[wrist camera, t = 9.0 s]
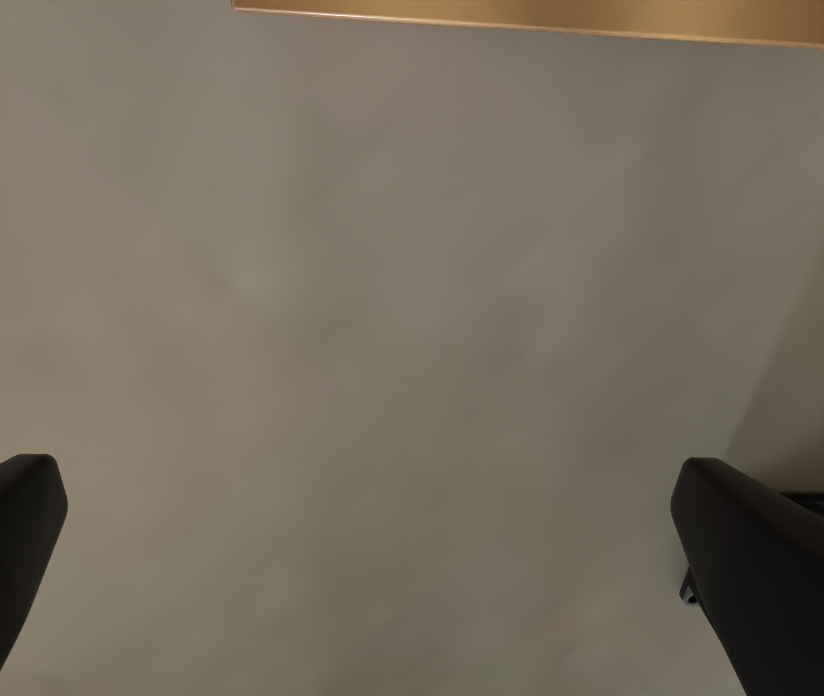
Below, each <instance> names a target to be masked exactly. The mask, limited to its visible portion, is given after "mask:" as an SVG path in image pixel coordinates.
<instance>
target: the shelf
mask: <svg viewBox="0 0 824 696" xmlns="http://www.w3.org/2000/svg"><path fill="white" fill-rule="evenodd" d="M231 6H232V8H233V9H234V10H236V11H239V12H244V13H259V14H275V15H291V16H307V17H322V18H338V19H354V20H370V21H386V22H402V23H418V24H433V25H449V26H465V27H481V28H497V29H513V30H529V31H544V32H560V33H576V34H592V35H608V36H624V37H640V38H655V39H671V40H687V41H703V42H719V43H735V44H751V45H766V46H782V47H798V48H814V49H824V0H231Z"/></svg>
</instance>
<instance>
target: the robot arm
mask: <svg viewBox="0 0 824 696" xmlns="http://www.w3.org/2000/svg"><path fill="white" fill-rule="evenodd" d="M67 509H68V501H67V496H66V493H65V489H64V486H63V482H62V479H61V475H60V472H59V468H58V465H57V462H56V460H55V459H54V458H53V457H52V456H51V455H48V454H19V455H16V456H14V457H12V458H10V459H8V460H6V461H4V462H3V463H1V464H0V671H1V669H2V667H3V665H4V663H5V661H6V659H7V657H8V655H9V653H10V651H11V649H12V647H13V645H14V643H15V641H16V639H17V637H18V635H19V633H20V631H21V629H22V627H23V625H24V623H25V621H26V618H27V616H28V614H29V611H30V609H31V606H32V604H33V601H34V599H35V596H36V594H37V591H38V589H39V586H40V583H41V581H42V578H43V576H44V573H45V570H46V568H47V565H48V563H49V560H50V557H51V555H52V552H53V550H54V547H55V544H56V542H57V539H58V537H59V534H60V532H61V529H62V526H63V524H64V521H65V518H66V515H67ZM671 514H672V518H673V521H674V523H675V526H676V529H677V532H678V534H679V537H680V540H681V543H682V546H683V548H684V551H685V554H686V557H687V559H688V562H689V565H690V566H689V569H688V571H687V574H686V576H685V579H684V582H683V584H682V587H681V590H680V593H679V595H680V597H681V599H682V601H683V602H684V604H685V605H687V606H700V607H701V608H702V610H703V612H704V614H705V615H706V617H707V619H708V621H709V622H710V624H711V626H712V627H713V629H714V631H715V633H716V634H717V636H718V638H719V640H720V641H721V643H722V645H723V647H724V649H725V651H726V653H727V655H728V658H729V660H730V662H731V664H732V666H733V668H734V670H735V672H736V674H737V676H738V678H739V680H740V683H741V685H742V687H743V689H744V691H745V693H746V695H747V696H824V495H781V494H779V493H777V492H776V491H774V490H772V489H770V488H769V487H767V486H765V485H763V484H761V483H760V482H758V481H756V480H754V479H753V478H751V477H749V476H747V475H746V474H744V473H742V472H740V471H739V470H737V469H735V468H733V467H731V466H730V465H728V464H726V463H724V462H723V461H721V460H719V459H716V458H700V457H692V458H689V459H687V460H686V461H685V462H684V463H683V466H682V468H681V471H680V474H679V477H678V480H677V483H676V486H675V489H674V492H673V495H672V498H671Z"/></svg>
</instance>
